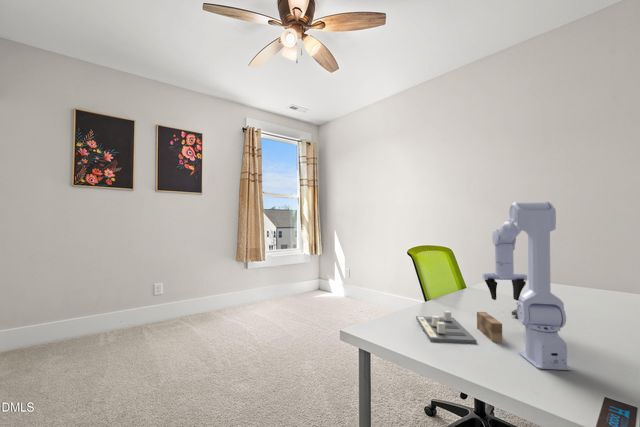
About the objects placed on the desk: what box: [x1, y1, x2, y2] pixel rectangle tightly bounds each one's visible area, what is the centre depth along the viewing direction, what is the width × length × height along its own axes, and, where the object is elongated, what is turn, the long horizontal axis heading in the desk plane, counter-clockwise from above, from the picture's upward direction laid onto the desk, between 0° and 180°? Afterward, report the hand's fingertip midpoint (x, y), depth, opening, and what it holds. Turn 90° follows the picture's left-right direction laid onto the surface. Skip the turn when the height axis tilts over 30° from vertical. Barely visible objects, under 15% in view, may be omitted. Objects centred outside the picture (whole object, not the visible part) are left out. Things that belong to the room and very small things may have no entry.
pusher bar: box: [476, 311, 503, 343], centre depth 100 cm, size 12×3×6 cm, turn 173°
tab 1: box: [431, 315, 440, 326], centre depth 105 cm, size 2×2×3 cm
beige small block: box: [437, 322, 445, 334], centre depth 99 cm, size 2×2×3 cm
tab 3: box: [443, 310, 452, 321], centre depth 111 cm, size 2×2×3 cm
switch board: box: [415, 315, 478, 344], centre depth 105 cm, size 22×14×1 cm, turn 173°
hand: (504, 299), depth 109 cm, fingers open, 7 cm apart
